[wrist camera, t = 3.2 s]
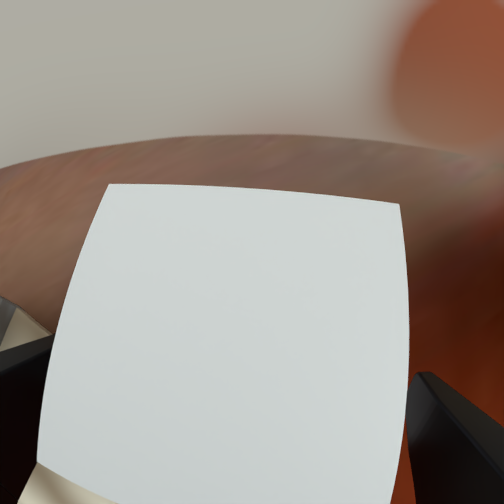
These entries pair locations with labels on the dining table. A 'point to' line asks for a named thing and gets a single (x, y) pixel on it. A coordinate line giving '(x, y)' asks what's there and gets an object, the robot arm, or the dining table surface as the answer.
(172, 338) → the grey carton
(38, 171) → the dining table surface
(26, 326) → the shelf board
